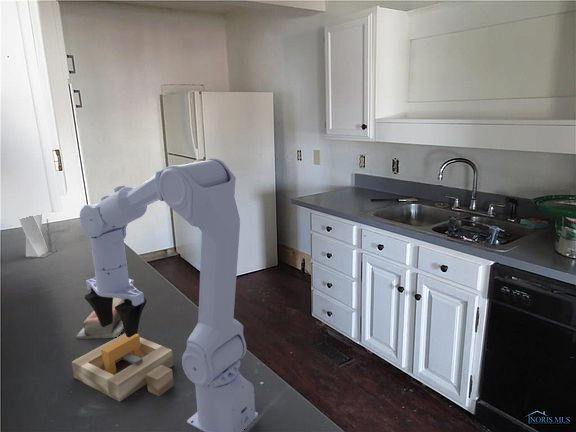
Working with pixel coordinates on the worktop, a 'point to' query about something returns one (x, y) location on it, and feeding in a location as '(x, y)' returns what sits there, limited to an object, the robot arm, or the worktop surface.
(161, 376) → the wooden cube
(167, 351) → the birch drawer
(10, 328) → the worktop surface
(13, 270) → the worktop surface
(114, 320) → the packaged product
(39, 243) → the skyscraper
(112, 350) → the wooden block
